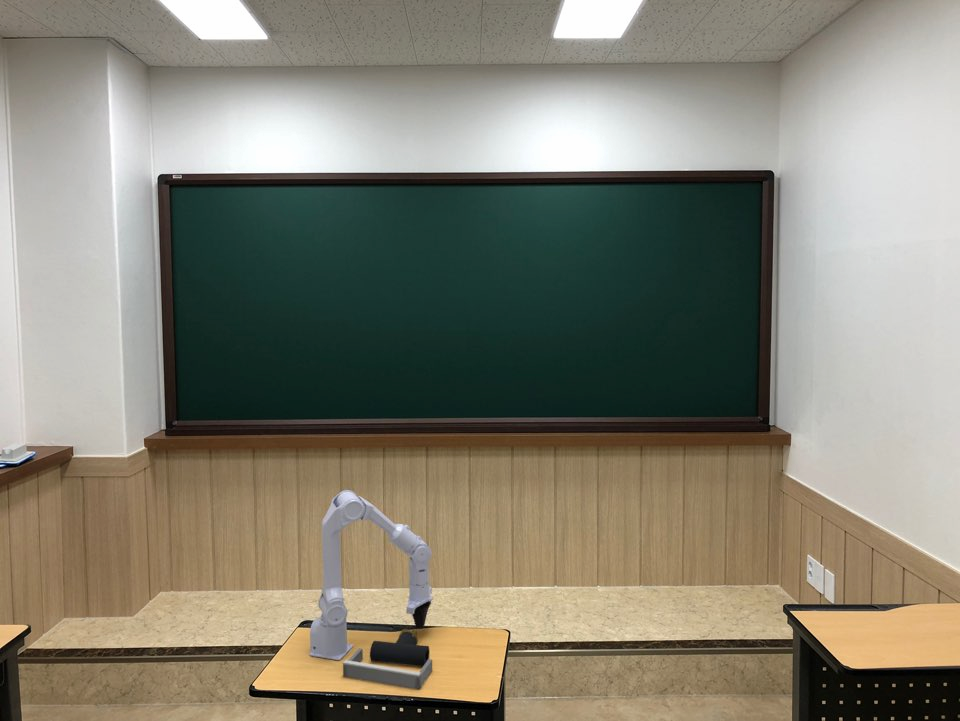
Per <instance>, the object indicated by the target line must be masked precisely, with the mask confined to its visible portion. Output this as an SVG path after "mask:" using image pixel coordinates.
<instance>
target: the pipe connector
mask: <svg viewBox="0 0 960 721" xmlns="http://www.w3.org/2000/svg"><path fill="white" fill-rule="evenodd" d="M369 659H370V661H371V662H379V663H380V662H381V663H389V664H397V665H406V666H407V665H409V666H417V667H418V666H419V667H423V666H424V665H425V663H426V662H427V660H428V659H430V646H429V645H423V644H422V645H420V644H418V630H417V629H412V630H410V629H407V628H403V629H402V630H401V632H400V633H399V635H398V637H397V640H396V641H395V642H390V641H380V640H373V641H372V643H371V646H370V649H369Z"/></svg>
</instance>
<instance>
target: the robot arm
mask: <svg viewBox="0 0 960 721" xmlns="http://www.w3.org/2000/svg"><path fill="white" fill-rule="evenodd" d="M359 520H361V521H363V522H364V521H368V520H369V521H371V522H372V523H374V525H376V526H377V527H379V528H380V529H382V530H383V531H384V532H385V533H387V535H388V541H389V542H390V543H392V545H394V546H395V547H397V548H398V549H399V550H400V551H402V552H403V553H404V554H406V555H407V556H409V558H408V574H409V575H408V581H409V582H408V586H409V591H408V592H409V596H408V601H407V602H408V604H407V606H406V614H408V615H412V618H413V621H414V626H415V628H417V629H423V628H424V627H425V624H426V619H427V615H428V612H429V608H430V606H431V604H432V602H433V600H434V596H431V594H432V593H433V591H432V588H433V587H432V586H431V585H430V566H429V564H430V563H429V562H430V560H431V558H432V555H433V552H432V551H431V547H430V546H429V545H428V544H427V543H426V541H424V540H423V539H422V537H421V536H420V535H416V534H415V533H413V531H411V530H410V529H411V527H410V526H409V525H408V524H403V523H395V522H393V521H392V520H391V519H389V517H387V516H386V515H385V514H384V513H383V512H381V510H379V509H378V508H377V507H376V506H375V505H373V504H372V503H370V502H369V501H368V500H366V499H365V498H363V497H362V496H360V495H357V494H356V493H355V492H354V491H353V490H349V489H346V490H343V491H340V492H339V493H337V495H336V496H334V497H333V498H332V499H331V502H330V506H329V508H328V510H327V512H326V513H325V515H324V517H323V519H322V522H321V548H322V549H321V551H322V554H321V555H322V556H321V557H322V558H321V559H322V584H323V585H322V587H321V592H320V593H321V594H320V596H319V599H318V603H317V604H318V608H319V610H320V611H321V615H320V617H315V619H314V620H312V623H311V626H310V631H309V636H310V637H309V640H310V652H309V655H308V656H310V657H314V658H315V657H316V658H323V659H328V660H333V661H340V660H342V659H343V658H344V657H345V656H346V655H347V654H348V652H350V651H351V649H353V647H354V644H352V643H348V630H347V617H348V608H347V606H346V605H345V601H344V594H343V588H342V557H341V556H342V554H341V550H342V549H341V532H342V531H343V530H344V529H345V528H346V527H347V526H349V525H351V524H353V523H355V522H357V521H359Z"/></svg>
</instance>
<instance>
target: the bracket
mask: <svg viewBox="0 0 960 721" xmlns="http://www.w3.org/2000/svg"><path fill="white" fill-rule="evenodd" d="M363 652H364V650H363V648H360V647H359V648H357V650H356V651H355V652H354V653H353V654H352V655H351V657H349V658H348V659H347V660H346V659H344V661H342V677H343V678H347V679H355V680H360V681H366V682H371V683H376V684H377V683H378V684H383V685H389V686H396V687H401V688H407V689H412V690H420V689H421V688H422V686H423V685H424V683H425V682H426V681H427V679H428V678H429V676H430V675H431V673H432V672H433V659H431V658H429V659H428V660H427V662H426V663H425V665H424V666H421V667H422V668H421V669H420V670H419V671H415V670H409V669H408V670H407V669H402V668H396V667H391V666H390V667H389V666H384V665H378V664H372V663H371V664H370V663H366V662H362V661H363V660H364V655H363V654H364V653H363Z"/></svg>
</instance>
